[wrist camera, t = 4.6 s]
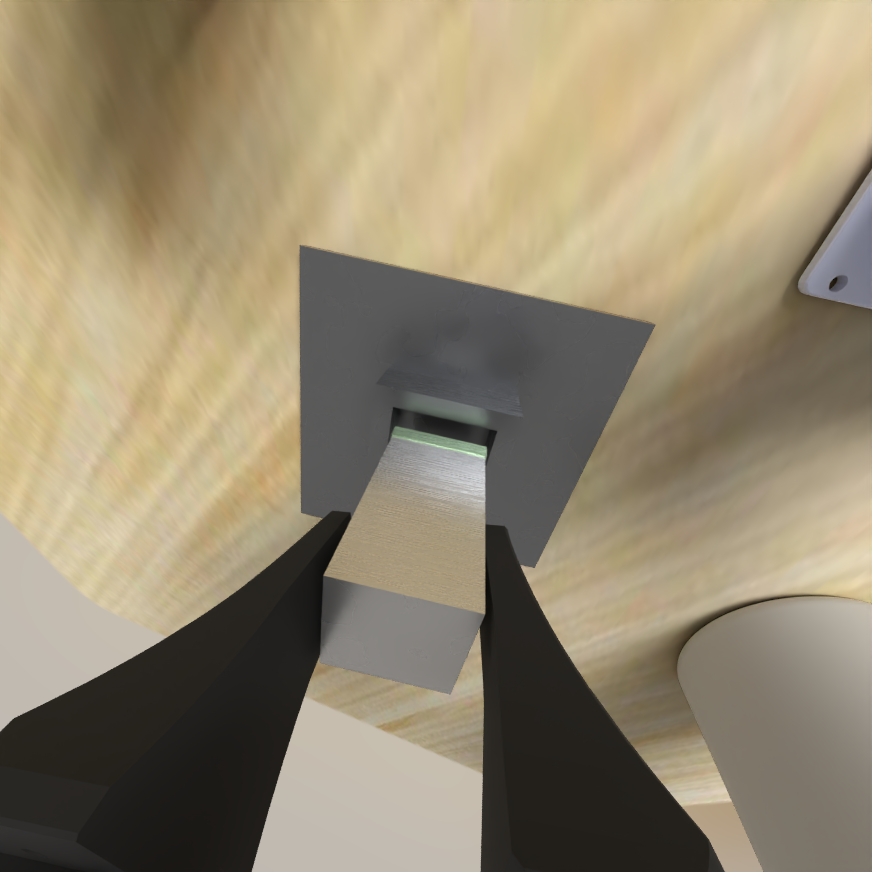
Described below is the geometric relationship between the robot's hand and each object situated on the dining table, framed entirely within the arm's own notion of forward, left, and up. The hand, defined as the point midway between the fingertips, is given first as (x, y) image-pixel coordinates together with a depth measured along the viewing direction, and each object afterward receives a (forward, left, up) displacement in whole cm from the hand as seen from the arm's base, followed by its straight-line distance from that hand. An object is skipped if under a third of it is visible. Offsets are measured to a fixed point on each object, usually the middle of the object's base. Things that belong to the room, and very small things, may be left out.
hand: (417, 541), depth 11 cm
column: (0, 0, -4) cm, 4 cm away
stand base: (0, 0, -7) cm, 7 cm away
